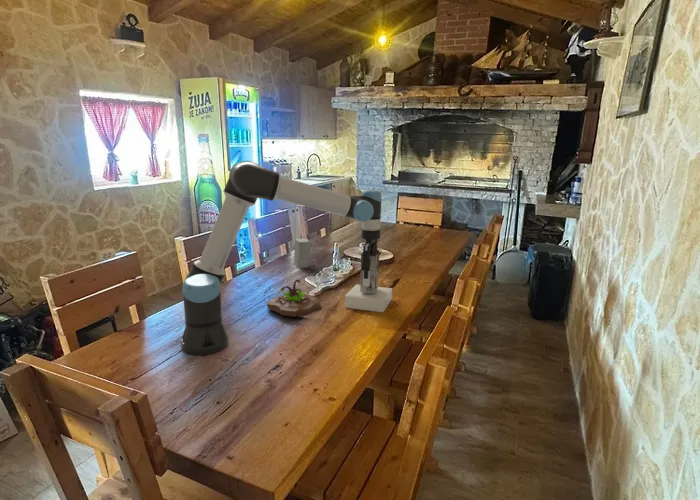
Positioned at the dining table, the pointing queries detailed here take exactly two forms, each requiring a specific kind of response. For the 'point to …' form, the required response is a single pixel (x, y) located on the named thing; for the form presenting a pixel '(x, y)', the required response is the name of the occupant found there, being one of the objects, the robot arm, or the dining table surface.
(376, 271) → the coffee box
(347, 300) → the riser
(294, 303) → the plant
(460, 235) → the dining table surface
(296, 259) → the skincare box
